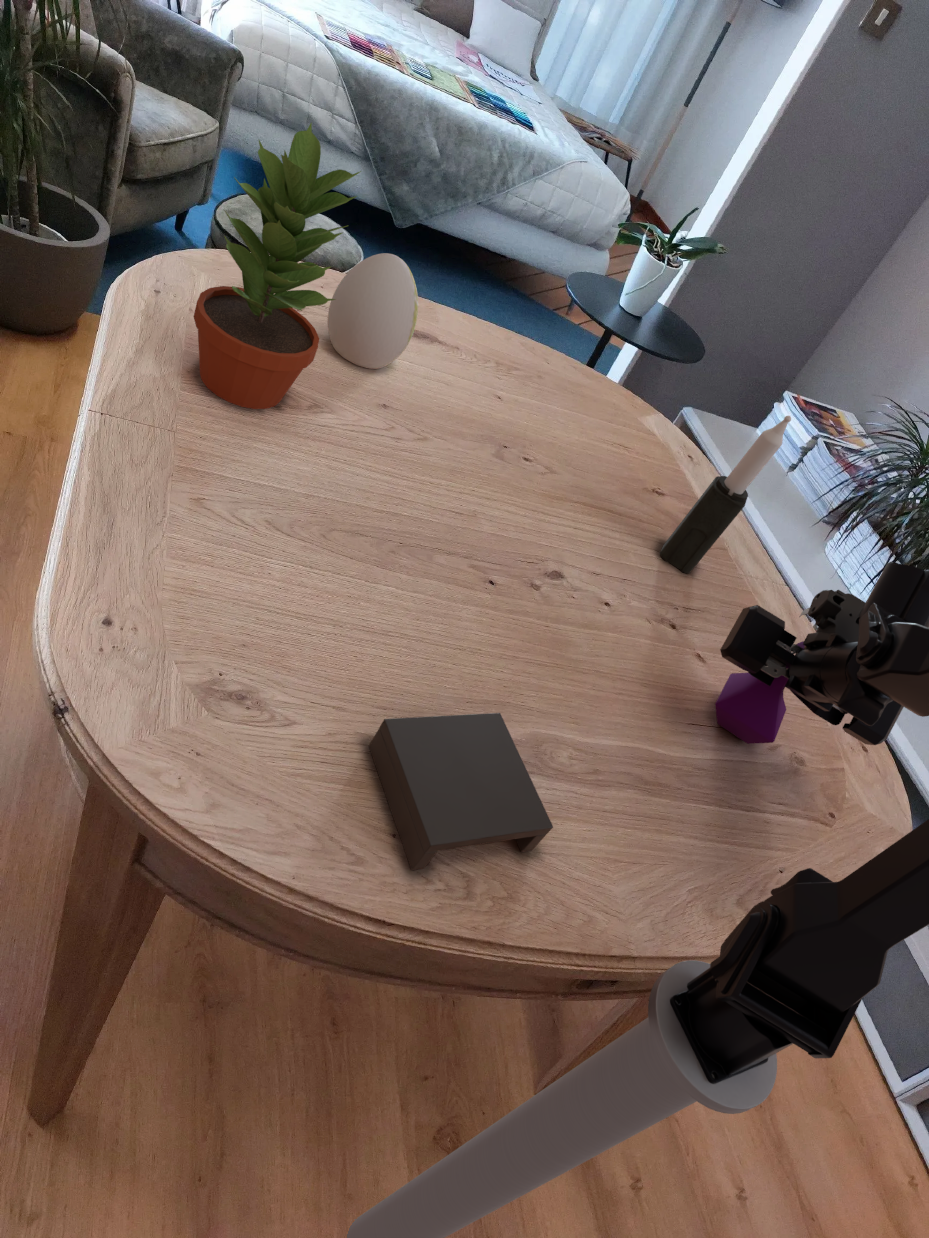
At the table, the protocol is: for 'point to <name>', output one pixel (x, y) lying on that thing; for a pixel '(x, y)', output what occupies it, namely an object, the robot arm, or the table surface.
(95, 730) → the table surface
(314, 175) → the potted plant
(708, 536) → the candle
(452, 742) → the shelf
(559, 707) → the table surface
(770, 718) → the perfume bottle
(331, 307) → the decorative egg
